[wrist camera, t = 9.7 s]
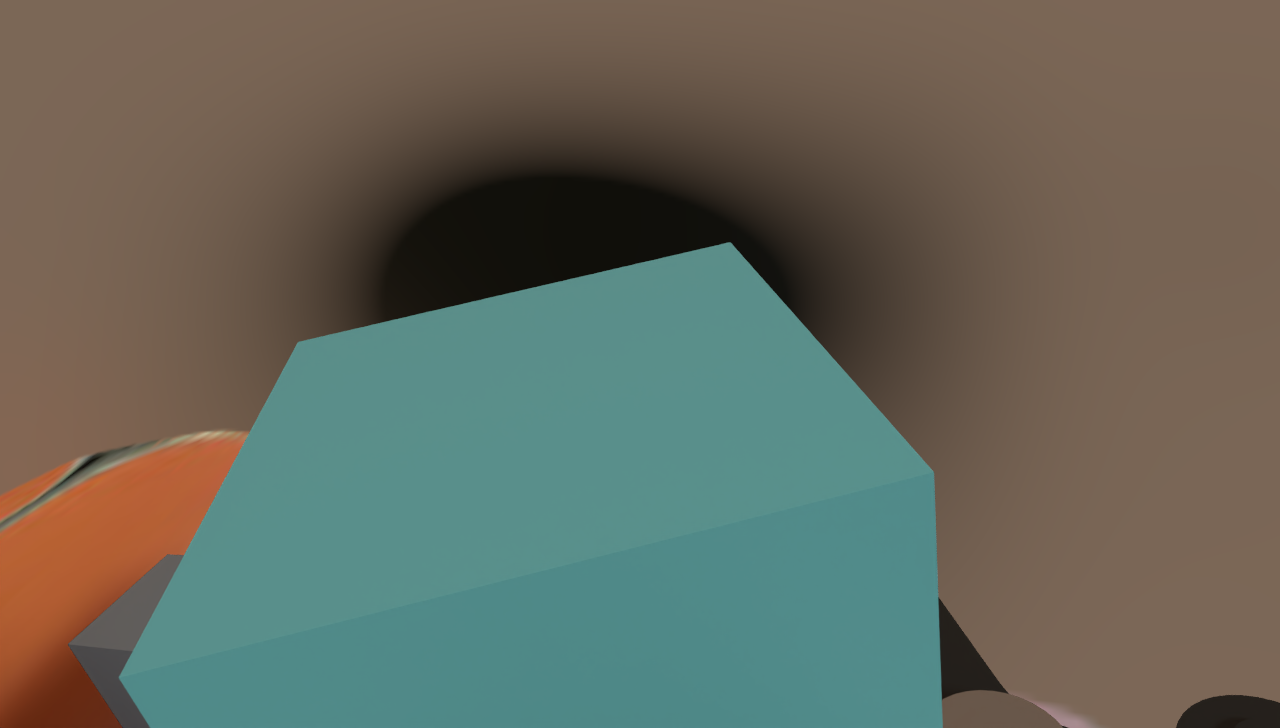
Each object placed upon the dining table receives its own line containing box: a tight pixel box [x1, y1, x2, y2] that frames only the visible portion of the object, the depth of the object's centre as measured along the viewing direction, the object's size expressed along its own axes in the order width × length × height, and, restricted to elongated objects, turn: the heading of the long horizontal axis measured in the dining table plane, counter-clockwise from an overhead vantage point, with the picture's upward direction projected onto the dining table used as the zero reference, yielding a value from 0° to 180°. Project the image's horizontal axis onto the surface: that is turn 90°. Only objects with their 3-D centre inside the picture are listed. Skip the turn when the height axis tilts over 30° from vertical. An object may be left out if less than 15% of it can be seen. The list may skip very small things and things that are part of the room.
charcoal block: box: [68, 554, 184, 728], centre depth 32 cm, size 4×4×11 cm
